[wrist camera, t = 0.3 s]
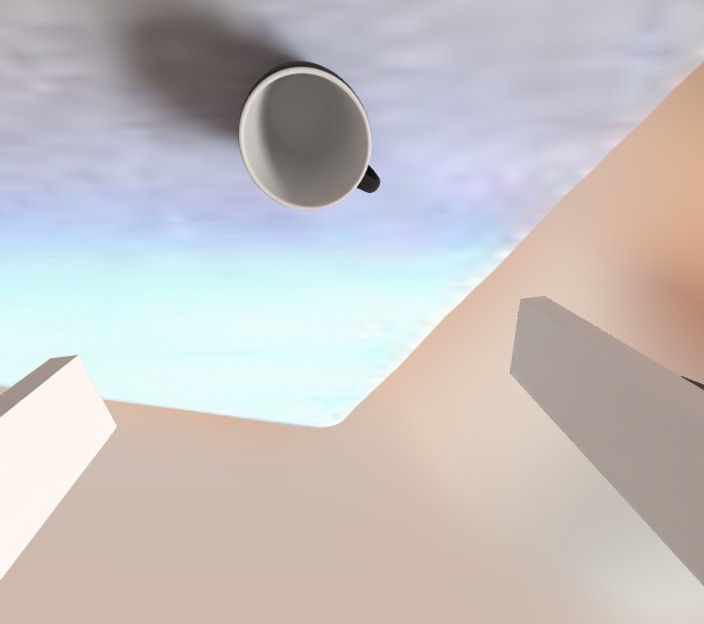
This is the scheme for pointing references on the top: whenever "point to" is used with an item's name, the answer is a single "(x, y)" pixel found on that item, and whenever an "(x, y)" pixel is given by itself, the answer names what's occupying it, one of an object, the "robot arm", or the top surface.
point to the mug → (306, 137)
